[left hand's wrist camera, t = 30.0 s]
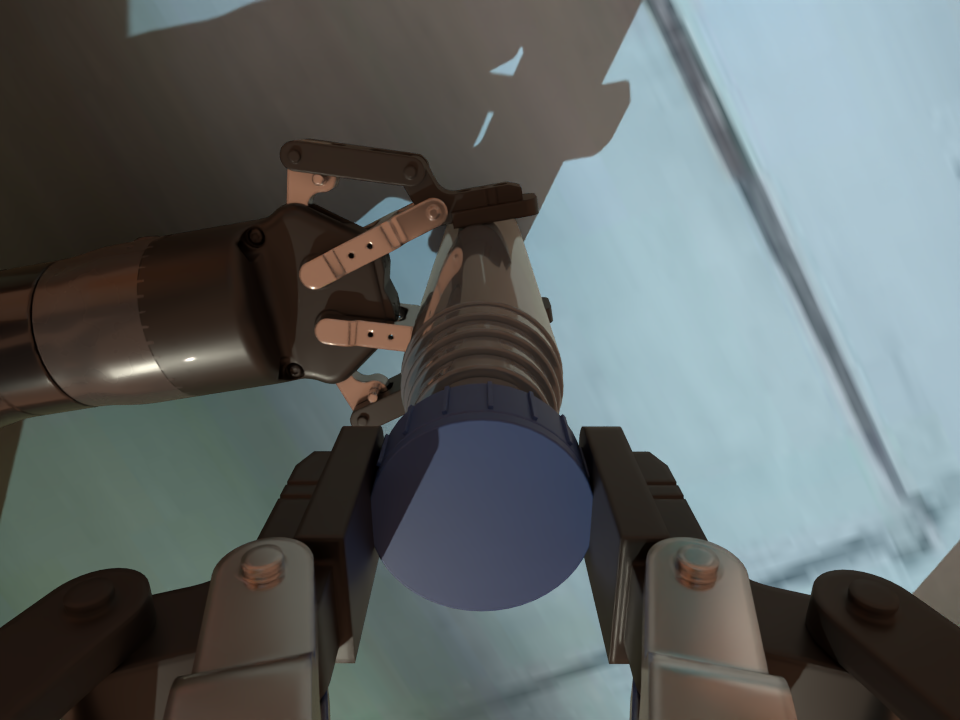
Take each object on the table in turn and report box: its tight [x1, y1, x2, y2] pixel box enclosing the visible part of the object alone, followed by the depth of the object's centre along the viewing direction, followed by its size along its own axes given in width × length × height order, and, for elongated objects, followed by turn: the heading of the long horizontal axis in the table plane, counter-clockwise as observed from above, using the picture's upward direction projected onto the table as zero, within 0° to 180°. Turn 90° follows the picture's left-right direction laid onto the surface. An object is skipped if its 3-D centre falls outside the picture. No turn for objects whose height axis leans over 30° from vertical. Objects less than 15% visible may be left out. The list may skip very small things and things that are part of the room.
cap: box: [371, 381, 593, 611], centre depth 12 cm, size 4×4×2 cm
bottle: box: [401, 219, 564, 414], centre depth 23 cm, size 4×4×25 cm
